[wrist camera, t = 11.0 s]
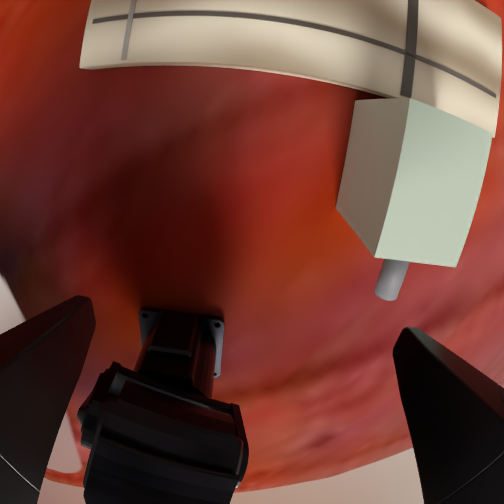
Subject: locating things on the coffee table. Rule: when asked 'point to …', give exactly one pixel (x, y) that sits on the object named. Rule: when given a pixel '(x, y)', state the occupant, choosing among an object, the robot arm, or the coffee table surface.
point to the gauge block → (411, 184)
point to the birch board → (317, 44)
